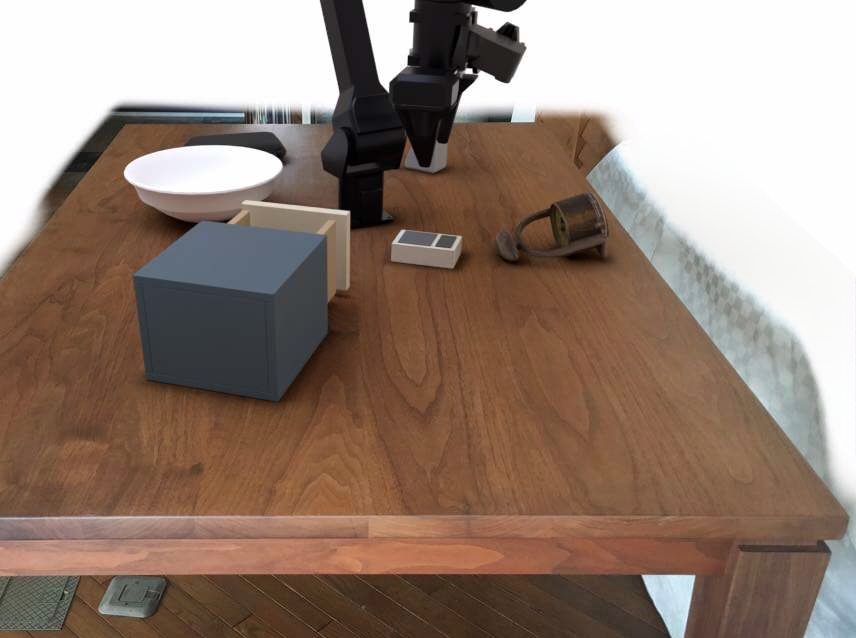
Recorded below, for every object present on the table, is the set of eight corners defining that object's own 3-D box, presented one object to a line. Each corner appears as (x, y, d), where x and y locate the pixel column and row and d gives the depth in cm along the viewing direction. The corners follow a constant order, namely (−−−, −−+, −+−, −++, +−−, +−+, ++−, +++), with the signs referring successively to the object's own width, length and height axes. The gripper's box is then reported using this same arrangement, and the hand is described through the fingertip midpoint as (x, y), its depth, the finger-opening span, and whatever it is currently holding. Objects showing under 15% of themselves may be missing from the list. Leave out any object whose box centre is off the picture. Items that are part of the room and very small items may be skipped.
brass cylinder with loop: (621, 230, 96) (620, 182, 103) (501, 212, 98) (508, 165, 105) (604, 284, 101) (604, 235, 108) (490, 266, 103) (498, 218, 110)
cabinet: (209, 315, 91) (202, 220, 86) (328, 333, 88) (327, 234, 83) (145, 379, 80) (132, 274, 75) (278, 402, 77) (273, 294, 72)
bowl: (147, 190, 125) (142, 144, 122) (290, 191, 124) (288, 145, 121) (113, 243, 108) (106, 191, 105) (278, 244, 107) (276, 192, 104)
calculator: (391, 261, 103) (391, 242, 102) (400, 247, 107) (401, 228, 106) (452, 268, 101) (454, 249, 100) (460, 254, 105) (462, 235, 104)
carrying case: (191, 174, 131) (290, 167, 134) (189, 153, 129) (290, 146, 132) (183, 154, 140) (277, 147, 143) (182, 134, 138) (276, 128, 141)
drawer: (263, 260, 101) (259, 188, 97) (360, 272, 98) (361, 198, 94) (200, 322, 88) (193, 242, 84) (311, 338, 85) (309, 256, 81)
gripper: (511, 17, 80) (495, 188, 88) (536, -11, 95) (520, 138, 103) (389, 11, 83) (384, 178, 91) (432, -15, 98) (425, 130, 106)
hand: (434, 154), depth 98 cm, fingers open, 9 cm apart
